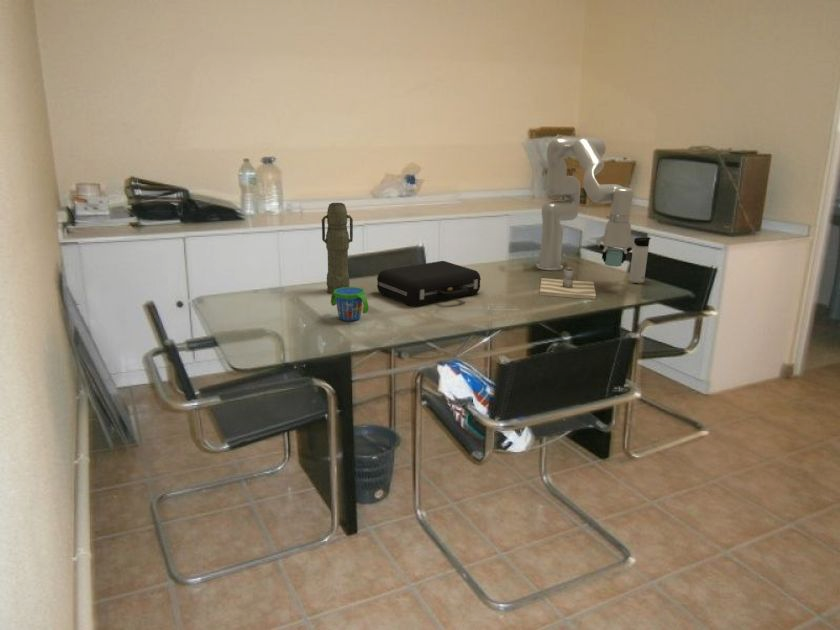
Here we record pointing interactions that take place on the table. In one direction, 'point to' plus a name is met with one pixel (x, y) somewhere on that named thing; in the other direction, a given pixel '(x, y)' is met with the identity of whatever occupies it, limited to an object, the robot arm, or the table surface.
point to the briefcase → (428, 282)
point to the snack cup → (349, 302)
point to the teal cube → (614, 257)
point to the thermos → (337, 245)
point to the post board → (567, 287)
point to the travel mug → (639, 260)
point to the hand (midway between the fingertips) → (613, 261)
